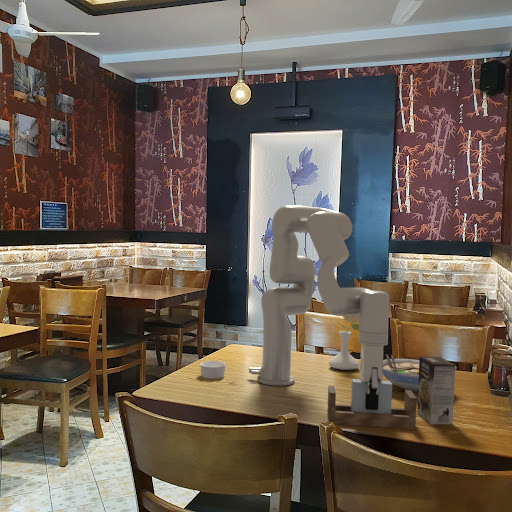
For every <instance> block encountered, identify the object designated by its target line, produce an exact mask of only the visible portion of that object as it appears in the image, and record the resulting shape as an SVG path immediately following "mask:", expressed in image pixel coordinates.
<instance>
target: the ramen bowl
mask: <svg viewBox="0 0 512 512" xmlns="http://www.w3.org/2000/svg"><path fill="white" fill-rule="evenodd" d="M390 355H391V356H390V357H391V358H390V357H389V354H385V357H386V359H383V376H384V377H385V379H386V381H390V382H391V383H392V385H395V386H397V387H399V388H401V390H404V391H405V390H411V391H412V392H413V393H418V384H419V359H412V358H394V355H393V354H390Z"/></svg>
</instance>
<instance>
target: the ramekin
mask: <svg viewBox="0 0 512 512" xmlns="http://www.w3.org/2000/svg"><path fill="white" fill-rule="evenodd" d="M226 364H227V363H225V362H224V361H219V360H218V361H217V360H208V361H207V360H205V361H202V362H200V363H199V367H200V376H201V377H202V378H203V379H204V378H205V379H209V380H215V379H216V380H218V379H222V378H224V376H225V372H226V366H227V365H226Z"/></svg>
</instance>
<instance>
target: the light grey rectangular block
mask: <svg viewBox="0 0 512 512" xmlns="http://www.w3.org/2000/svg"><path fill="white" fill-rule="evenodd" d="M369 382H372V380H369ZM370 386H372V385H370ZM366 394H367V382H365V383H363V382H362V380H361V379H358V378H356V379H355V378H352V379H351V397H350V398H351V401H350V402H351V403H350V405H351V410H352V412H360V413H375V414H391V408H392V398H393V383H391V382H390V381H388V380H382V383H380V384H379V383H378V395H379V397H378V410H367V409H366V408H365V402H366Z"/></svg>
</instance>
